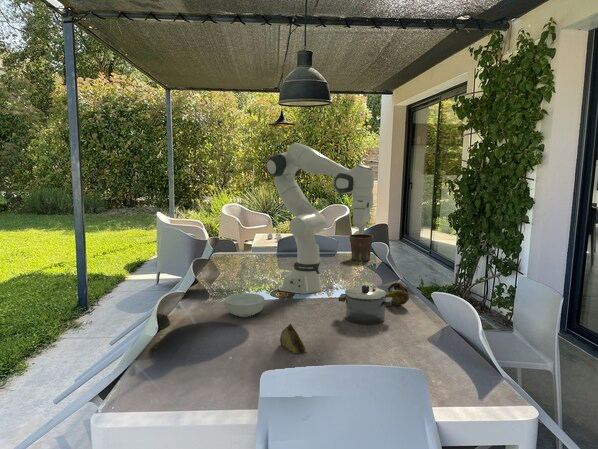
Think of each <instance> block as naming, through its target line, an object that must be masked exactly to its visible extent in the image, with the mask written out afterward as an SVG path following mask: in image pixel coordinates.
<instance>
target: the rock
mask: <svg viewBox="0 0 598 449" xmlns="http://www.w3.org/2000/svg"><path fill="white" fill-rule="evenodd" d="M279 343H280V345H281V346H283V347H285V349H287V350H288V351H290V352H292V353H294V354H306V353H307V351H306V347H305V344H304V343H303V341H302V339H301V337H300V335H299V334H298V333H297V331H296V329H295V328H294V327H293V325H292V323H289V324H288V325H287V327H284V329H282V331H281V333H280V338H279Z"/></svg>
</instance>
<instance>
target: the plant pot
mask: <svg viewBox="0 0 598 449" xmlns="http://www.w3.org/2000/svg"><path fill="white" fill-rule="evenodd" d="M373 240H374V235H372V234H366V233H363V234H359V233H357V234H356V233H355V234H354V233H353V234H350V235H349V242H350V251H351V252H350V253H351V260H353V261H356V262H366V261H370V260H371V252H372V245H373V244H372V243H373Z"/></svg>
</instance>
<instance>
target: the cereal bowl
mask: <svg viewBox="0 0 598 449" xmlns="http://www.w3.org/2000/svg"><path fill="white" fill-rule="evenodd" d="M224 306H225V309H226V311H227V312H229V313H230V314H232V315H235V317H238V316H239V318H249V317H248V316H250V317H252V316H254V315H256V314H258V313H260V312H261V311H262V310H263V309H264V306H265V297H264V296H262V295H260V294H257V293H250V292H242V293H234V294H230V295H228V296H226V297H225V298H224ZM251 315H252V316H251Z"/></svg>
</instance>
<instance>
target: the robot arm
mask: <svg viewBox="0 0 598 449" xmlns="http://www.w3.org/2000/svg"><path fill="white" fill-rule="evenodd" d="M265 165H266V167H265V168H266V171H267V173H269V175H270V176H272V177H274V180H273V184H274V186H275V188H276V192H277V194H278V195H279V197H280V199H281V201H282V202H283V204H284V206H285V208H286V210H287V211H288V212H289V213H291V214H292V215H293V216H295V217H294V218H292V219H291V220H290V221H289V224H288V226H289V227H288V228H289V232H290V234H291V235H292V236H293V237H294V240H295V243H296V249H297V252H296V253H297V254H296V255H297V260H296V261H295V262H294V263H293V266H292V267H293V269H292V270H290V272H288V273H287V274H286V275H285V276H283V281H282V283H281V284H279V285H278V291H281V292H287V293H288V292H289V293H294V294H301V295H307V294H311V293H312V294H313V293H318V292H321V291H323V287H322V282H321V262H320V247H319V244H317V242H316V241H317V240H316V238H315V235H317V234H320V232H322V231H323V230H324V229H325V228H326V226H327V220H326V217H325V216H324V215H323V214H322V213H320V212H319V211H318V210H317V209H316V208H315V207H314V206H313V205H312V204H311V202H309V201H308V199H307V197H306V196H305V194H304V193H303V191H302V189H301V187H300V185H299V184H298V182H297V181H296V176H297V175H300V174H301V172H302V171H303V172H305V173H307V174H308V173H309V174H312V175H326V176H327V175H328V176H331V177H334V180H333V186H334V188H335V191H336V192H338V193H339V194H342V195H345V194H346V195H347V194H350V195H351V194H352V202H351V209H352V222H353V226H354V227H358V234H365V226H366V224H367V223H368V222H369V221H370V216H371V215H370V212H371V210H370V208H373V206H374V194H373V192H374V191H373V189H374V184H375V183H374V182H375V180H374V178H375V175H374V169H373V168H372V166H369V165H367V164H366V165H364V164H356V165H355V166H353V167H352V168H351V169H349V168H348V167H346V166H343V165H342V164H340V163H338V162H335V161H334V160H332V159H330V158H329V157H327V156H325V155H323V154H322V153H320V152H319V151H317V150H316V149H314V148H312V147H310V146H309V145H306V144H303V143H300V142H293V143H292V144H290V145H289V147H288V148H287V151H284V152H281V153H278V154H274V155H271V156H269V157H267V160H266V164H265Z"/></svg>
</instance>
